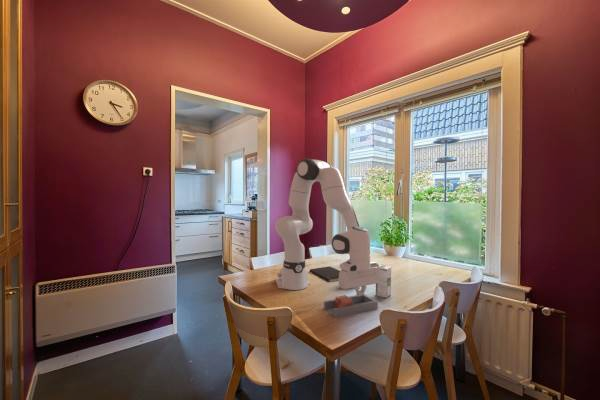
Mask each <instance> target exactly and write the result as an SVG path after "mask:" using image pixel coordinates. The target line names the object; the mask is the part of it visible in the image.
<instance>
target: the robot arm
mask: <svg viewBox="0 0 600 400" xmlns="http://www.w3.org/2000/svg"><path fill="white" fill-rule="evenodd" d="M315 182H316V183H317V184H318V183H320V187H321V194H322V197H323V201H324V203H325V205H327V206H328V207H329V208H330V209H332V210H333V209H334V210H335V211H337V212H338V213H340V215H341V216H342V217H343V220H344V223H345V227H346V231H343V232H340V233H337V234H336V233H335V235H333V237H332V239H331V248H332V249H333V251H334V252H335V253H336V254H338V255H345V254H348V255H349V259H347V260H345V261H344V262H342V263H340V264H339V268H340V269H339V271H340V272H339V280H338V286H339V287H340V288H341V289H343V290H348V289H349V290H350V289H354V290H355V292H356V295H357V296H358V297H359V296H364V294H365V292H366V289H367V286H370V285H376V284H377V283H380V281H381V278H380V271H379V266H380V265H379V263H378V262H377V261H376V262H375V261H374V262H371V253H370V254H369V250H370V251H371V239H370V233H369V230H368V229H367V228H365V227H362V226H360V225H359V220H358V219H357V217H358V216H357V215H356V211H355V209H354V206H353V204H352V201H350V200H349V197H348V195H347V192H346V188H345V183H344V180H343V177H342V174H341V172H340V170H339V169H338V168H337V167H333V165H332V164H331V163H330V162H327V161H323V160H320V159H311V158H304V159H302V160H300V161H299V162H298V163H297V165H296V172H295V173H294V176H293V179H292V182H291V186H290V191H289V196H288V197H289V198H288V205H289V207H291V211H292V215H285V216H282V217H279V218H278V219H277V220H276V222H275V225H274V228H275V232H276V233H277V235H278V236H279V237H280V238H281V240H282V242H283V248H284V259H283V261H282V263H283V265H282V268H280V270H279V271H278V272H277V274H276V275H277V277H276V278H275V279H274V281H275V283H276V286H277V288H278V289H285V290H289V291H299V290H303V289H306V288H307V287H308V286H309V285H311V281H309V278H308V277H309V274H308V269H307V268H306V265H307V264H306V259H305V257H306V256H305V253H306V252H305V250H306V249H305V245H304V244H303V243H302V242H301V240H300V235H304V234H307V233H309V232H310V231H312V229H313V225H314V222H313V220H312V218H311V217H310V213H309V212H310V211H309V207H310V206H309V205H310V197H311V192H312V186H313V185H314V183H315ZM360 288H361V289H360Z"/></svg>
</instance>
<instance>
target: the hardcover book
mask: <svg viewBox="0 0 600 400" xmlns="http://www.w3.org/2000/svg"><path fill="white" fill-rule="evenodd" d="M311 272H312V274H314V275H315V276H316V277H318V276H319V278H321V279H323V280H324V281H325V282H328V283H330V282H338V281H339V272H340V269H336V268H335V267H332V266H322V267H316V268H310V269H309V273H311Z"/></svg>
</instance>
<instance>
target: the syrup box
mask: <svg viewBox="0 0 600 400" xmlns="http://www.w3.org/2000/svg"><path fill="white" fill-rule="evenodd" d="M379 271H380V278H381V281H380V283H377V284H375V296H377V297H381V298H385V299H387V298H389V296H391V295H392V266H390V265H386V264H385V265H384V264H380V265H379Z"/></svg>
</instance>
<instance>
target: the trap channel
mask: <svg viewBox="0 0 600 400" xmlns="http://www.w3.org/2000/svg"><path fill="white" fill-rule="evenodd" d="M348 297H349V298H351V299H352V305H350V306H345V307H340V308H335V302H336V298H333V299H329V300H324V301H323V308H324V310H325V311H327V312H328V313H329V314H331V315H332V316H333V317H334V318H336V319H337V318H340V317H345V316H349V315H353V314H359V313H363V312H368V311H371V310H373V311H374V310H377V309H378V307H379V306H378V301H377V300H375V299H374V298H372V297H371V296H368V295H366V294H365V293H364V296H359V297H358V296H357V295H350V296H349V295H348Z"/></svg>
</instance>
